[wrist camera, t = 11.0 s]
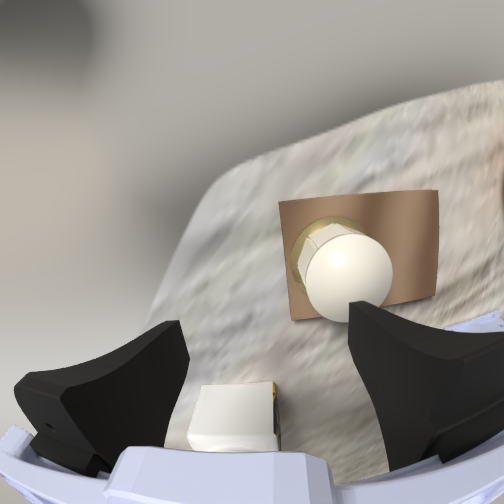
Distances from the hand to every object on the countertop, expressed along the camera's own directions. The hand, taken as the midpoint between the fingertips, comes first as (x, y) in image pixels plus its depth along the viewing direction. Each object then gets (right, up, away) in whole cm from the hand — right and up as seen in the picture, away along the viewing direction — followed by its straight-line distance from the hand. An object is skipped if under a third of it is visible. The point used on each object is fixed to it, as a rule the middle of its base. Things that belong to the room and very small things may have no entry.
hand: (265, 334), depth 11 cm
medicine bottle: (-1, -12, +14) cm, 19 cm away
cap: (+5, +3, +8) cm, 10 cm away
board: (+8, +4, +9) cm, 13 cm away
